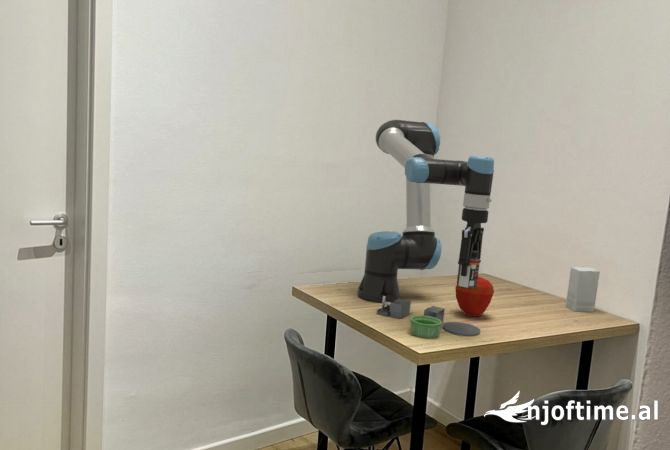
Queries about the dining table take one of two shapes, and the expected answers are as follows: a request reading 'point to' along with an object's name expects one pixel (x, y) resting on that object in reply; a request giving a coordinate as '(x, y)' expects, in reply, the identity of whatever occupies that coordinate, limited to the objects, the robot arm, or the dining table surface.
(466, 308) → the apple
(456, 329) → the coaster
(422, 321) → the ramekin
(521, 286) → the dining table surface
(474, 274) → the supplement bottle
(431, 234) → the robot arm
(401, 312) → the vise
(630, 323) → the dining table surface
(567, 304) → the skincare box
